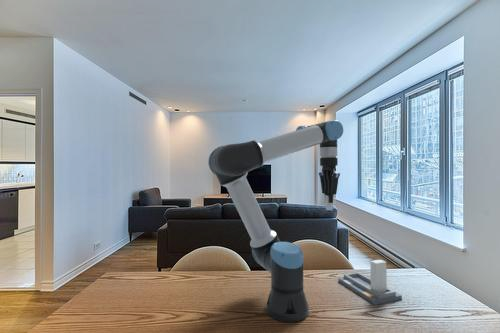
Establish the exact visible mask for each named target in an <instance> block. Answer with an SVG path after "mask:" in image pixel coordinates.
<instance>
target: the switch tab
mask: <svg viewBox="0 0 500 333" xmlns="http://www.w3.org/2000/svg"><path fill="white" fill-rule="evenodd" d="M370 278H371V289H373V290H374V291H376V292H378V293H385V292H387V288H388V287H387V261H385V260H383V259H375V260H370Z"/></svg>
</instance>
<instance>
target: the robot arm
mask: <svg viewBox="0 0 500 333" xmlns="http://www.w3.org/2000/svg"><path fill="white" fill-rule="evenodd" d="M343 126H344V125H343V124H342V123H341V121H339V120H337V119H332V120H331V119H330V120H327V121H322V122H319V123H316V124H311V125H304V124H303V125H299V126H297V127H296V129H295V130H294V131H290V132H287V133H283V134H281V135H276V136H274V137H273V136H272V137H270V138H266V139H263V140H261V141H256V140H250V141H245V142H238V143H229V144H226V145H221V146H218V147H217V148H214V149H213V150H212V152H211V153H210V155H209V156H208V161H207V162H208V167H209V169H210V172H212V173H213V175H215V176H216V178H217V180H218V182H219V185H220V186H222V187H225V188H226V189H227V192H228V194H229V196H230V198H231V200H232V203H233V204H234V207H235V208H236V211H237V213H238V214H239V216H240V219H241V220H242V222H243V225H244V227H245V229H246V230H247V233H248V235H249V237H250V242H249V246H250V247H251V253H252V257H253V258H254V261H255V262H256V263H257V264H258V265H259V266H261V267H263V269H265V270H266V271H267V272H268V273H270V283H271V285H270V292H269V293H268V299H267V301H266V313H267V314H268V316H269V317H270V318H272V319H274V320H277V321H280V322H285V323H296V322H299V321H303V320H305V319H306V318H308V316H309V313H310V312H309V308H310V306H309V302H308V301H307V297H306V294H305V291H304V261H305V259H304V252H303V250H302V248H301V247H300V246H299V245H297V243H293V242H289V241H281V240H280V238H279V236H278V234H277V232H276V230H273V229H271V227H270V226H269V223H268V221H267V219H266V218H265V215H264V212H263V211H262V209H261V206H260V205H259V202H258V200H257V198H256V195H255V194H254V192H253V190H252V188H251V185H250V184H249V181H248V178H247V176H248V173H249V172H251V171H253V170H255V169H258V168H261V167H262V166H264V164H265V163H267V162H270V161H273V160H276V159H279V158H282V157H285V156H287V155H291V154H294V153H297V152H300V151H302V150H306V149H308V148H312V147H313V146H314V147H315V146H318V145H319V157H320V158H319V166H321V167H322V168H321V171H320V172H318V176H319V179H320V181H319V182H320V186H321V193H322V194H323V195H324V196H325V201H324V202H325V211H333V210H334V195H337V192H338V185H339V179H340V177H341V176H340V175H341V173H340V172H337V168H336V167H337V166H338V157H337V156H338V139H340V138H341V137H342V136H343V134H344V127H343Z"/></svg>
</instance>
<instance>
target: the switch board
mask: <svg viewBox="0 0 500 333" xmlns="http://www.w3.org/2000/svg"><path fill="white" fill-rule="evenodd" d="M338 282H339V283H340V284H342V285H343V286H345V287H347V289H349V290H350V291H353V292H354V293H356V294H357V295H358V296H360V297H362V298H363V299H365V300H366V301H368V302H370V303H371V304H372V305H375V306H376V305H380V304H386V303H390V302H394V301H401V300H403V296H402V294H400V293H399V292H396V291H395V290H393V289H391V288H389V287H387V292H385V293H378V292H376V291H374V290H373V289H371V277H369V276H366V275H364V274H363V273H361V272H359V271H356V272H351V273H345V274H343V277H338Z"/></svg>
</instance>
